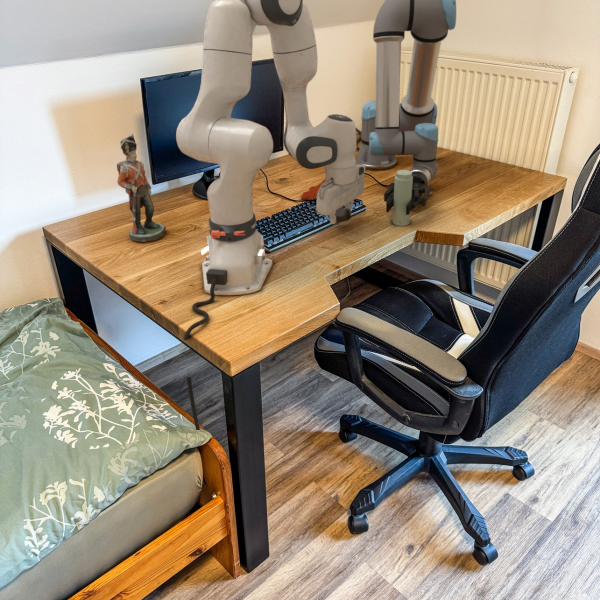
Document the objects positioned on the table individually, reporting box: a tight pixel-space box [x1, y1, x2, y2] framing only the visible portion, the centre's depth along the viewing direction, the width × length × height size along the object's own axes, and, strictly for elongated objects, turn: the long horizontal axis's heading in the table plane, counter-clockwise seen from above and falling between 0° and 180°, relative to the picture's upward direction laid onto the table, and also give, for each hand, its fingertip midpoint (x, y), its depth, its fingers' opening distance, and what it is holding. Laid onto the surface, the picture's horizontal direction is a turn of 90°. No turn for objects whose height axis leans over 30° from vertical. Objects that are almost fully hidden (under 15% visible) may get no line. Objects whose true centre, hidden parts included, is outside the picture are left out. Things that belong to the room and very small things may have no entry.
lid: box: [335, 207, 352, 223], centre depth 166 cm, size 6×6×2 cm
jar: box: [392, 169, 413, 227], centre depth 166 cm, size 5×5×16 cm
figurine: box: [116, 132, 166, 243], centre depth 161 cm, size 11×11×30 cm
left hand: (340, 218), depth 167 cm, fingers closed on lid, 6 cm apart
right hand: (397, 209), depth 163 cm, fingers closed on jar, 5 cm apart
